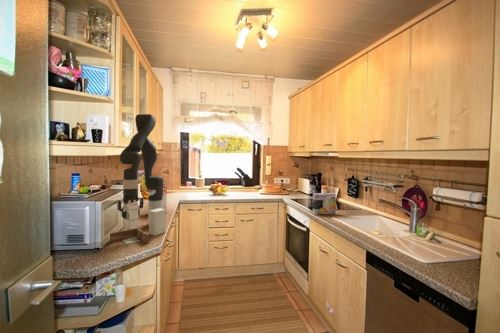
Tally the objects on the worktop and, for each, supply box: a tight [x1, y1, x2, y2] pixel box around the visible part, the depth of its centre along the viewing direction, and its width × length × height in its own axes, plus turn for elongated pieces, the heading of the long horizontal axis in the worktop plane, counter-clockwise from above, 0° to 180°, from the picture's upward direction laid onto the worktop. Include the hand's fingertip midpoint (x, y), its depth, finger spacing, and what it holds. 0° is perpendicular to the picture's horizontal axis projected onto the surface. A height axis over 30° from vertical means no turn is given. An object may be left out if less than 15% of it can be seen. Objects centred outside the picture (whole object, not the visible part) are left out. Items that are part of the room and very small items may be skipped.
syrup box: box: [122, 201, 139, 230], centre depth 146 cm, size 6×6×14 cm
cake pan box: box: [312, 192, 337, 216], centre depth 218 cm, size 19×5×18 cm, turn 94°
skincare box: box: [148, 208, 167, 237], centre depth 161 cm, size 8×6×15 cm
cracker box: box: [147, 187, 167, 211], centre depth 211 cm, size 14×6×21 cm, turn 66°
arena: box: [107, 227, 150, 245], centre depth 144 cm, size 16×16×5 cm
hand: (130, 217), depth 146 cm, fingers closed on syrup box, 6 cm apart
